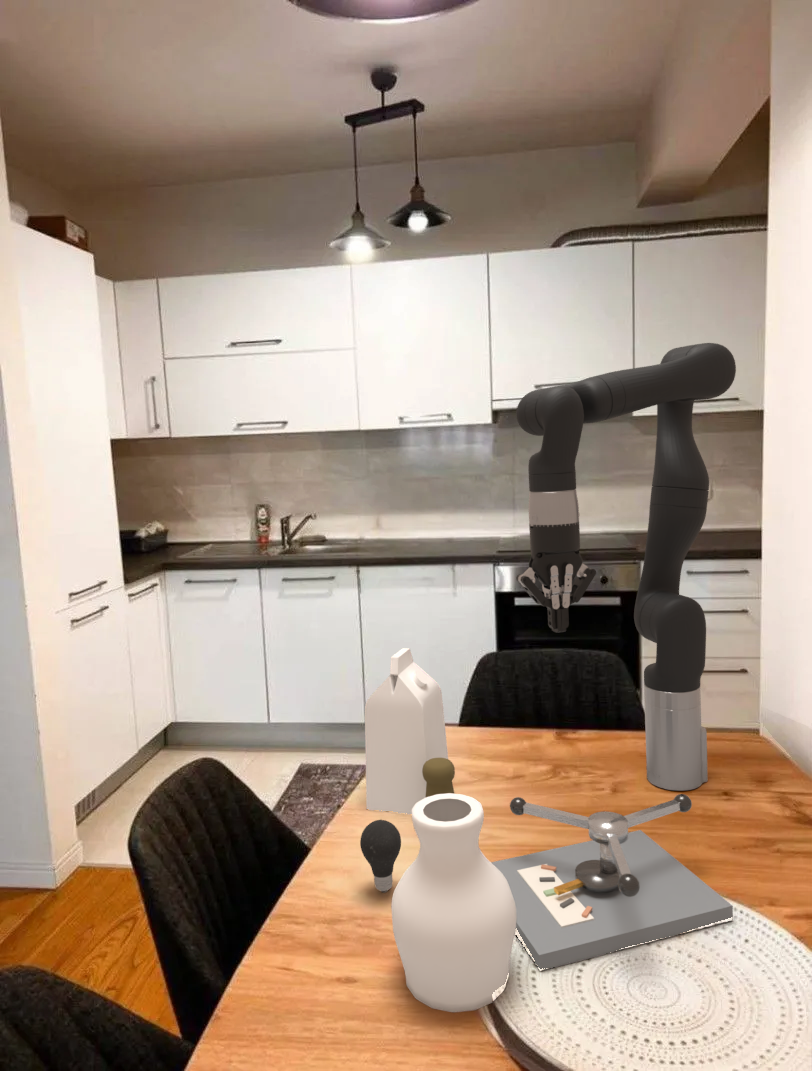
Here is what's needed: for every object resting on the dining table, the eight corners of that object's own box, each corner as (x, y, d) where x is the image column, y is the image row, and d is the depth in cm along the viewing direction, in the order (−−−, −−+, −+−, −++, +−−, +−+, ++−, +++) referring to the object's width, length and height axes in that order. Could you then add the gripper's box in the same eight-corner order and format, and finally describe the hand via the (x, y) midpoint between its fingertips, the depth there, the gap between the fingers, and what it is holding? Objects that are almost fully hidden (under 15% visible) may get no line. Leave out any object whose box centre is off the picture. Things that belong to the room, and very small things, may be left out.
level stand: (640, 842, 111) (640, 826, 111) (732, 920, 92) (732, 901, 92) (477, 878, 104) (476, 862, 104) (539, 971, 85) (538, 951, 85)
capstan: (628, 809, 116) (626, 761, 115) (766, 890, 93) (765, 831, 92) (503, 850, 106) (500, 798, 105) (623, 951, 84) (621, 885, 83)
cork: (458, 836, 116) (454, 769, 115) (420, 835, 118) (415, 768, 116) (463, 817, 122) (459, 753, 121) (426, 816, 123) (422, 752, 122)
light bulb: (363, 881, 106) (358, 814, 105) (402, 877, 106) (398, 810, 105) (364, 905, 100) (359, 834, 99) (406, 900, 100) (401, 830, 99)
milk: (391, 779, 138) (382, 642, 136) (450, 785, 134) (442, 644, 132) (366, 809, 127) (355, 661, 124) (430, 816, 123) (421, 663, 120)
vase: (432, 921, 96) (422, 772, 93) (537, 953, 88) (530, 792, 86) (371, 994, 83) (358, 824, 81) (488, 1038, 76) (478, 853, 74)
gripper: (581, 515, 119) (585, 621, 121) (504, 522, 116) (509, 631, 118) (605, 518, 112) (609, 631, 114) (524, 525, 108) (529, 642, 110)
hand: (558, 631), depth 116 cm, fingers closed
